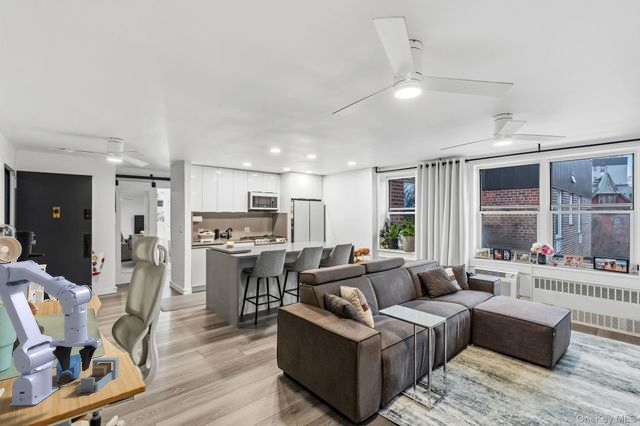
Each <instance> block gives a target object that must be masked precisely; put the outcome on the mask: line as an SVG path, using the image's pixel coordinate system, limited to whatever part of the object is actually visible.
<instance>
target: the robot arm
mask: <svg viewBox="0 0 640 426" xmlns="http://www.w3.org/2000/svg"><path fill="white" fill-rule="evenodd" d="M31 283H34V284H35V285H36V284H37V286H41V287H43V292H44V293H46V294H47V295H49V296H51V297H53V298H55V299H56V300H58V302H59V304H60V307H61V309H62V310H61V312H62V314H63V318H64V320H63V322H64V323H63V324H64V325H63V326H64V328H63V329H64V330H63V332H64V333H63V338H57V339H56V338H55V339H53V338H52V336H50V335H49V336H48V335H46V334H42V333H41V330H40V327H39V326H38V323H37V321H36V318H35V317H34V316H35V315H34V314H33V312H32V309H31V307H30V304H29V303H28V300H27V298H26V295H25V293H24V291H25V290H26V288H28V287H29V286H30V285H31ZM0 298H1V301H2V305H3V306H4V308H5V311H6V313H7V316H8V318H9V320H10V322H11V325H12V328H13V330H14V332H15V334H16V336H17V339H18V341H19V344H18V345H17V347H16V348H15V349H14V350H13V352H12V355H13V362H14V364H13V365H14V368H15V370H17V372H18V373H20V375H19V376H18V377H17V378H15V380H14V381H13V383H12V386H11V387H12V388H11V391H12V394H11V402H10V403H9V406H36V405H38V404H40V403H41V402H43V400H45V399H46V398H48V397H49V396H51V395H52V394H54V393H55V392H56V391H58V390H59V389H60V387H59V386H53V365H54V364H55V363H56V362H55V361H56V360H57V362H58V361H59V363H60V366H61V369H62V371H66V370H67V369H69V368H70V356H72V355H71V354H72V350H73V349H72V348H75V347H76V348H79V347H80V348H81V349H79V350H78V353H79V354H80V356H81V371H82V372H86V371H87V370H89V369H90V366H91V361H92V360H93V357H94V353H95V352H96V351H97V349H98V348H99V347H100V346H102V341H103V340H102V338H97V337H95V338H94V337H90V336H89V337H88V303H90V302H91V301H92V298H93V292H92V289H91V288H90V287H89V286H88V285H87V284H83V285H78V284H76V283H73V282H71V281H69V280H68V279H65V277H64V276H52V275H50V274H48V272H46V271H44V270H42V269H41V268H40V266H39V263H37V262H35V261H33V260H31V259H29V260H25V261H17V262H10V263H0ZM82 347H83V348H82Z"/></svg>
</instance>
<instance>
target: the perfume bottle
mask: <svg viewBox="0 0 640 426" xmlns="http://www.w3.org/2000/svg"><path fill="white" fill-rule="evenodd" d="M55 367H56V368H55V369H56V370H55V371H56V373H55V374H56V376H55V377H56V380H55V382H56V384H57V383H60V384H68V382H70V381H71V380H74V379H75V380H76V379H79V378H80V374H81V371H82V361H81V356H80V353H79V354H73V355H70V368H69V369H67V370H66V371H62V369H61V366H60V363H59V361H58V360H57V363H56V366H55Z"/></svg>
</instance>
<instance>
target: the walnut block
mask: <svg viewBox="0 0 640 426" xmlns="http://www.w3.org/2000/svg"><path fill="white" fill-rule="evenodd" d="M111 370H112V362H98V365H96V366H95V367H93V366H92V369H91V374H92V377H105V376H106V375H107V374H108V373H110V372H111Z"/></svg>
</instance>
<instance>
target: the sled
mask: <svg viewBox="0 0 640 426" xmlns="http://www.w3.org/2000/svg"><path fill="white" fill-rule="evenodd" d="M112 370H113V369H111V371H112ZM102 378H103V377H91V378H87V377H81V378H80V382H81V391H94V390H95V384H96V383H97V382H98V381H99V380H101V379H102Z"/></svg>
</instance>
